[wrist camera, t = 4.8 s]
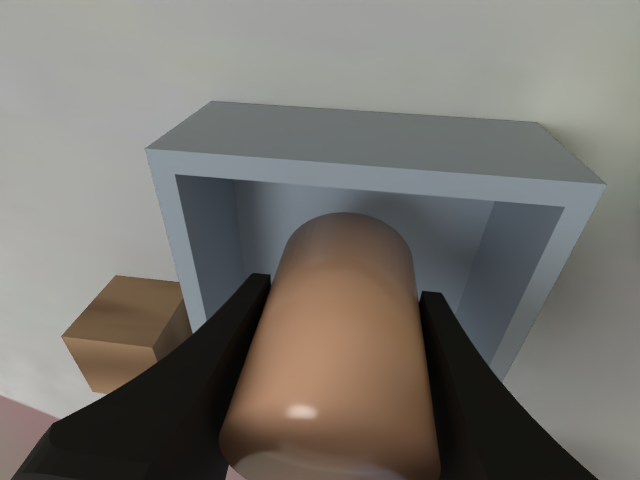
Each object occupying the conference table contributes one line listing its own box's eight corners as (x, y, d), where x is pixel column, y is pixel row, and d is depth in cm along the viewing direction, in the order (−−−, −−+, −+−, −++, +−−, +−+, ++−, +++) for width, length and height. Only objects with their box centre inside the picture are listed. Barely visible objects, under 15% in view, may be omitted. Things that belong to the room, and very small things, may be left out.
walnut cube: (204, 336, 26) (172, 402, 22) (137, 328, 26) (92, 391, 22) (192, 282, 23) (152, 347, 19) (116, 274, 23) (61, 336, 19)
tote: (441, 381, 25) (455, 470, 20) (246, 356, 26) (219, 435, 22) (536, 122, 15) (606, 184, 10) (211, 101, 16) (145, 148, 11)
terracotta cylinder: (400, 322, 15) (414, 523, 10) (282, 306, 16) (228, 491, 10) (427, 220, 12) (470, 422, 7) (282, 204, 13) (205, 382, 7)
